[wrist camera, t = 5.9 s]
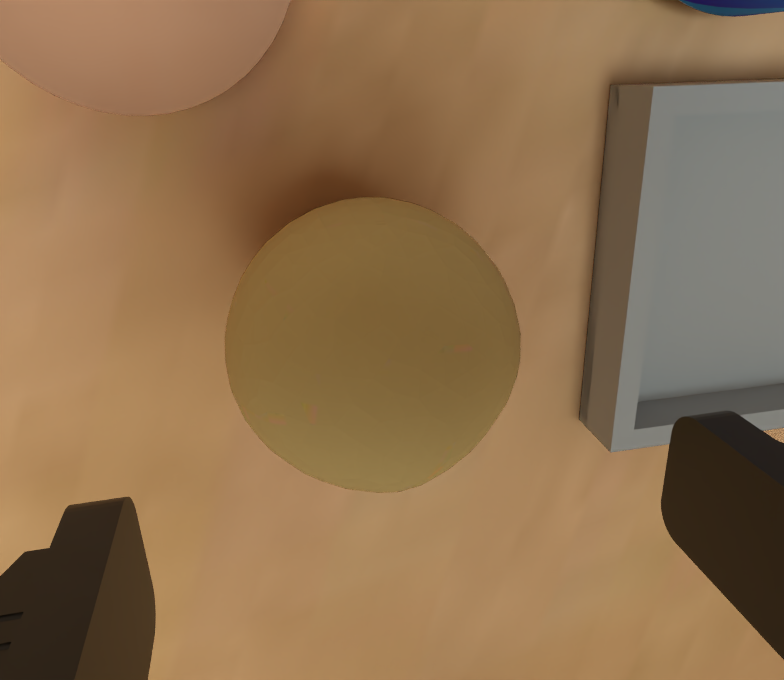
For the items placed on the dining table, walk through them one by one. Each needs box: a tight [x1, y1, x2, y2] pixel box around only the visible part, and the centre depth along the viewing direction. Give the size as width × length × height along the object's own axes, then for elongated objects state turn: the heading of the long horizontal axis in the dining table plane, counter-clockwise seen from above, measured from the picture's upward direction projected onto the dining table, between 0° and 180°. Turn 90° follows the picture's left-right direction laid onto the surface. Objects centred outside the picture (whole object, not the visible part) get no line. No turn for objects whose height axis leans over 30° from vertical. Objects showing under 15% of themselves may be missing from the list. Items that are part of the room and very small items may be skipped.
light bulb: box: [225, 197, 521, 493], centre depth 16 cm, size 6×6×10 cm
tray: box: [579, 79, 784, 452], centre depth 23 cm, size 12×12×2 cm
